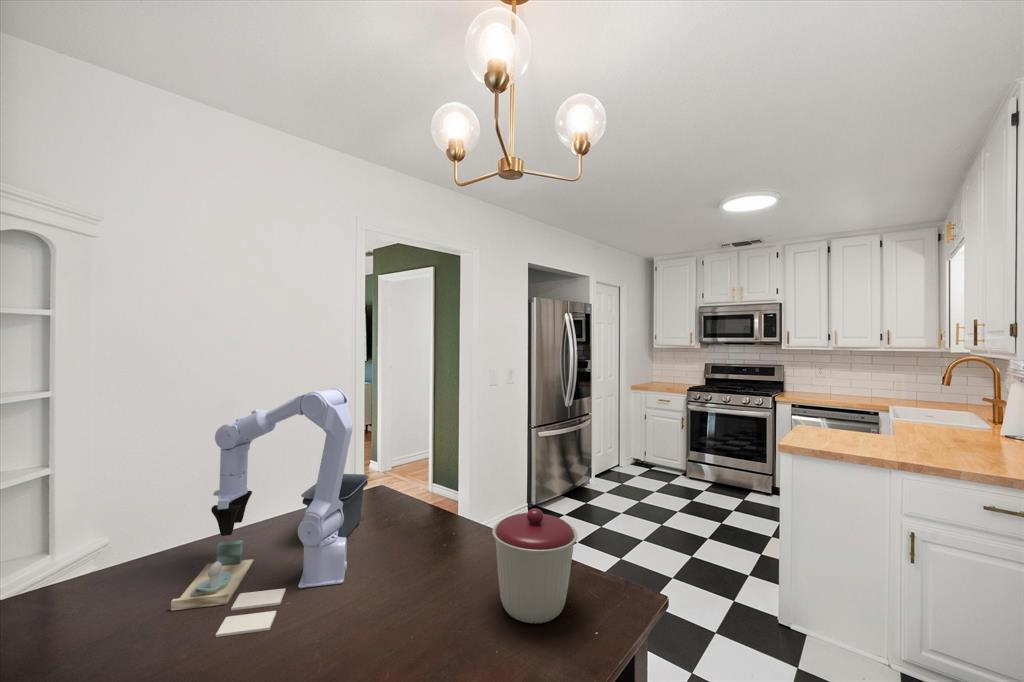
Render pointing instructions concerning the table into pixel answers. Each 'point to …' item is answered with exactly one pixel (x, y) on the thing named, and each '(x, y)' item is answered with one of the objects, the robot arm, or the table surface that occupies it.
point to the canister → (534, 564)
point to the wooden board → (231, 562)
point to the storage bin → (346, 500)
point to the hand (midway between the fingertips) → (231, 528)
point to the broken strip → (251, 621)
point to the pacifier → (212, 581)
